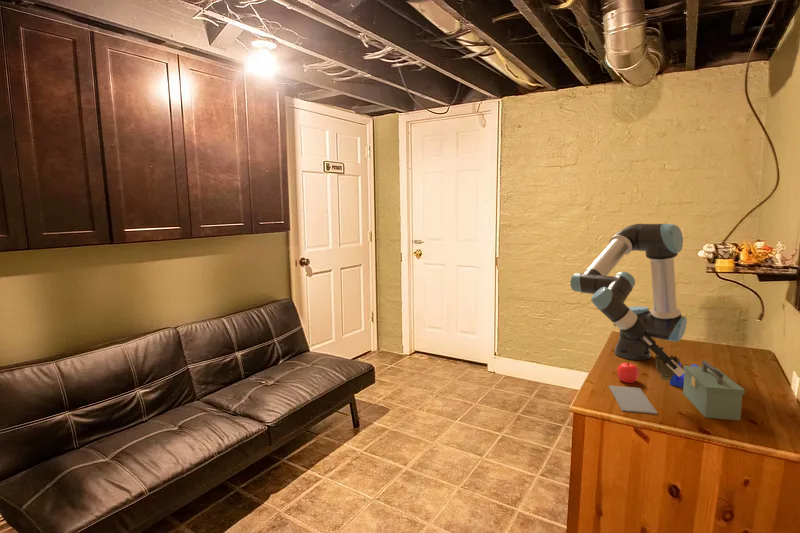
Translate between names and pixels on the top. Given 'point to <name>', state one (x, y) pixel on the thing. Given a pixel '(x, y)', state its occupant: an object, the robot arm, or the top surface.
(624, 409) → the rubber mat
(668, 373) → the cup
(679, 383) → the bracket
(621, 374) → the apple
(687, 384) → the toolbox
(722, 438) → the top surface
